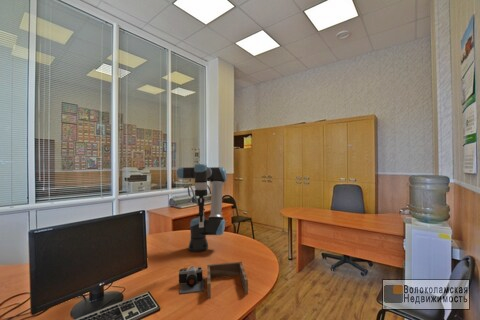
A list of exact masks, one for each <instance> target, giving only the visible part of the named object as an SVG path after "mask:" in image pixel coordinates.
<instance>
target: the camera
mask: <svg viewBox="0 0 480 320" xmlns="http://www.w3.org/2000/svg"><path fill="white" fill-rule="evenodd" d="M202 277H203V267H201V266H198V267H195V266H194V265H190V267H189V268H188V267H184V268H181V269H179V271H178V284H179V285H181V284H187V285H188V286H190V287H192V286H194V285H195V284H196V283H197V282H202V280H203V278H202Z"/></svg>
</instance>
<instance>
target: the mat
mask: <svg viewBox="0 0 480 320" xmlns="http://www.w3.org/2000/svg"><path fill="white" fill-rule="evenodd" d="M202 278H203V280H202V282H197V283H196V284H195V285H194V286H192V287H190V286H188V285H187V284H180V290H179V295H186V294H195V293H202V292H204V290H205V276H203V275H202Z"/></svg>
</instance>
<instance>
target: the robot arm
mask: <svg viewBox="0 0 480 320" xmlns="http://www.w3.org/2000/svg"><path fill="white" fill-rule="evenodd" d="M176 176H177V178H178V179H181V180H188V179H189V180H194V184H193V186H194V189H195V190H194V195H195V197H198V198H197V205H198V214H197V217H195V218H193V219H191V220H190V223H189V224H190V226H189V227H190V230H189V231H190V239H189V243H188V251H190V252H192V253H201V252H204V251H207V250H208V249H209V242H208V240H207V236H222V235H223V234H224V232H225V228H226V219H224V216H223V214H222V210H223V209H222V207H223V205H222V204H223V186H224V185H225V184H226V182H227V179H228V178H227V170H226V168H225V167H223V166H221V167H220V166H217V167H216V166H215V167H211V166H210V167H208V165H207V163H206V164H205V163H197V164H196V163H195V165H194V167H193V166H192V167H190V166H189V167H178V168H177V170H176ZM208 182H209V183H210V185H211V199H210V200H211V201H210V203H211V204H210V215H209V216H208V218H206V217H205V210H206V209H205V207H204V206H205V197H206V196H208Z"/></svg>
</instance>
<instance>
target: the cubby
mask: <svg viewBox="0 0 480 320" xmlns="http://www.w3.org/2000/svg"><path fill="white" fill-rule="evenodd" d="M206 267H207V268H206V269H207V271H206V273H207V274H206V276H207V277H206V278H207V279H206V282H207V283H206V286H207V287H206V288H207V299H211V298H212V297H211V296H212V295H211V294H212V293H211V292H212V291H211V290H212V289H211V279H216V278H225V277H234V276H239V278H240V280H241V284H242V287H243V291H244V294H245V295H248V294H249V280H248V276H247V272H246V271H245V267H244V264H243V262H242V261H235V262H225V263H213V264H207V265H206Z"/></svg>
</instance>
